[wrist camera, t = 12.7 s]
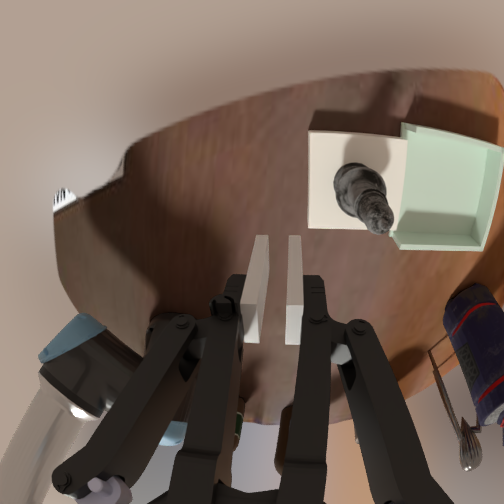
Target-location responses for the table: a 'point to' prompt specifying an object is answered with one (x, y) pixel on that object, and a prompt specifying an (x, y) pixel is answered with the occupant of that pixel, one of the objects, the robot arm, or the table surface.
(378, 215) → the dark grey tall piece
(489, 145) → the box
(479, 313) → the grenade
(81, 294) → the table surface
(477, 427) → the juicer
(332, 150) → the white square slab
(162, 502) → the robot arm
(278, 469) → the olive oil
